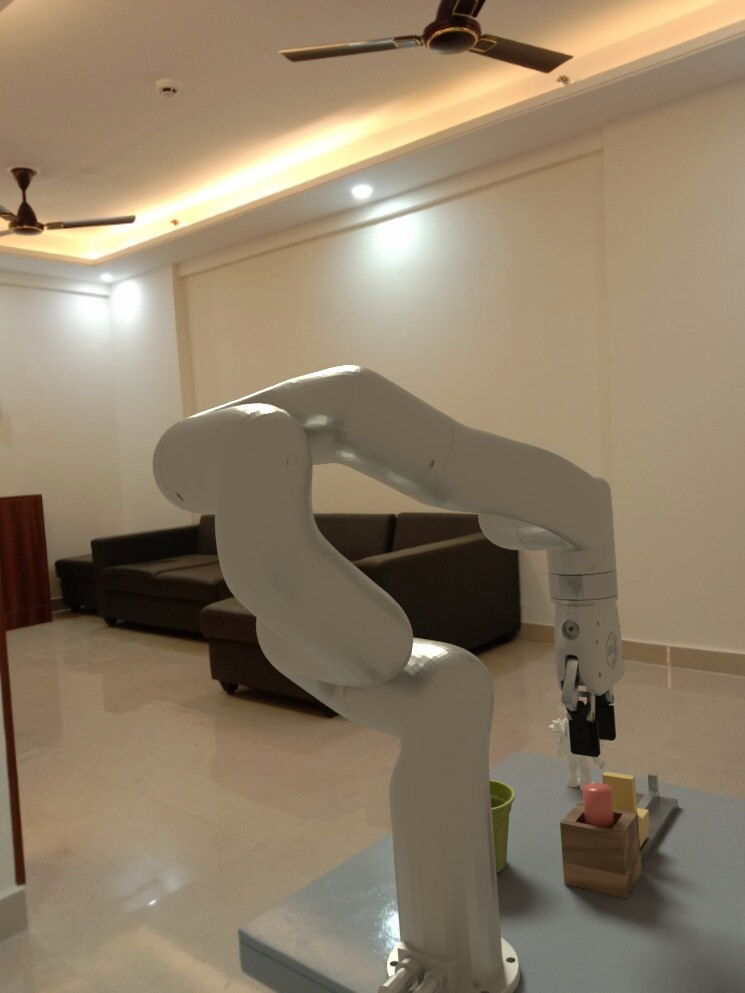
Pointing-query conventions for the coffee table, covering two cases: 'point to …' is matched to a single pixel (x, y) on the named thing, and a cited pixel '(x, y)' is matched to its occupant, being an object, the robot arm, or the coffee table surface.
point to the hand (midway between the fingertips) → (593, 744)
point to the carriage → (627, 799)
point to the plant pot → (500, 819)
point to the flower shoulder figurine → (574, 759)
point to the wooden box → (601, 852)
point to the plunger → (598, 805)
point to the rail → (655, 813)
